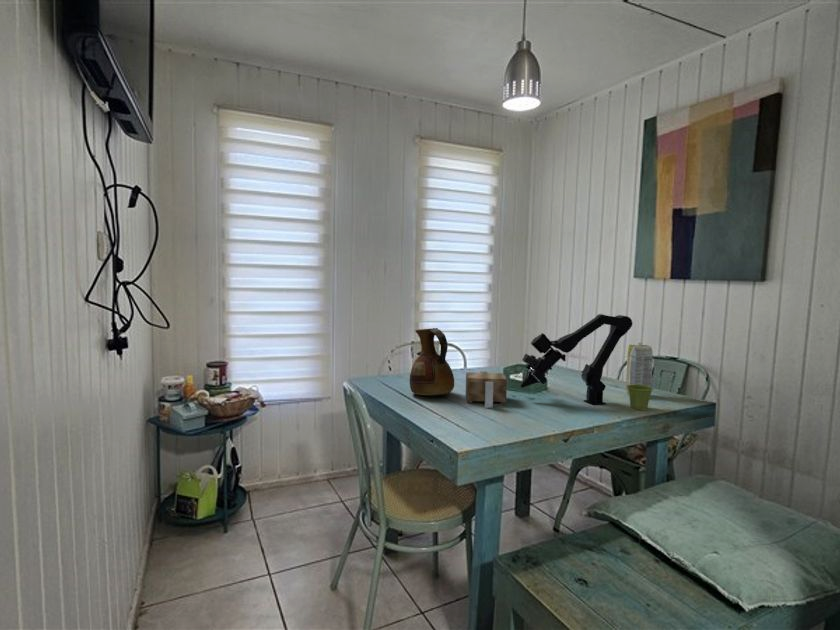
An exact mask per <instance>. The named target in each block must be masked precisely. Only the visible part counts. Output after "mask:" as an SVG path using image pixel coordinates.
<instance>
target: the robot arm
mask: <svg viewBox="0 0 840 630" xmlns="http://www.w3.org/2000/svg"><path fill="white" fill-rule="evenodd" d="M633 323H634V322H633V320H632V319H631V317H629V316H627V315H622V314H618V315H615V316H612V315H606V314H603V313H598V314H597V315H596V316H595V317H594V318H592V319H591V320H589V321H587V322H586V323H585V324H583V325H581V327H579V328H578V329H577V330H575V331H574V332H572V333H568V334H566V335H564V336H561V337H559V338H558V339H557V340H550V338H548V337H547V336H546V334H545V333H540V334H539V335H537V336H536V337H534V338H533V339H532V341H531V342H530V345H532V347H534V349H535V350H536V351H537V352H538V353H539V354H544V355H542V357H538V358H536V357H537V356H536V355H533V354H531V355H529V354H528V353H524V355H523V358H522V359H521V360H522V362H524V363H525V365H524V367H525V368H526V375H525V377H524V379H523V380H522V382H521V383H520V385H519V387H520V388H523V389H524V388H526V387H529V386H531V385H533V384H537V383H541V384H542V385H544V384H545V383H547V380H548V378H547V376H545V374H546V373H547V372H549V370H550V371H552V369H553V367H554V366H555V365H556V363H558V362H559V361H560V360H562V361H563V362H566V361H567V360H566V357H567V355H566V354H567V353H570V352H572V350H574V349H575V348H576V347H577V346H578V345H579V343H580V342H581V341H582V340H583V339H585V338H586V337H588V336H589V335H591V334H592V333H593V332H595V331H597V330H598V329H600V328H601V327H602V326H604V325H609V326H610V327H609V328H610V329H609V333H608V335H607V337H606V339H605V340H604V342H603V344H602V346H601V347H600V349H599V351H598V352H597V355H596V357H595V358H594V359H593V361H592V362H591V363H590V364H587V363H586V364H585V365H584V367H583V369H582V370H581V380H582V381H583V382H584V383H585V386H586V399H583V402H585V403H587V404H590V405H593V406H596V405H606V404H607V403H606V402H605V401H603V400H604V399H603V398H604V397H603V396H604V391H605V390H606V385H605V384H604V382H603V381H602V380H601V379H602V377H603V371H604V367H605V365H606V364H607V362H608V360H609V359H610V356H611V355H612V353H613V352H614V351H615V350H614V349H615V348H616V346H617V345H618V343H619V341H620V339H621V338H623V336H625V335H626V334H627V333H628V332H629V330H630V329H631V328H632V327H633ZM554 348H555V349H554ZM562 352H563V354H562ZM565 353H566V354H565Z"/></svg>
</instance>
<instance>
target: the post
mask: <svg viewBox="0 0 840 630" xmlns="http://www.w3.org/2000/svg"><path fill="white" fill-rule="evenodd" d="M493 406H494V402H493V382H485V401H484V408H485V409H493V408H494V407H493Z"/></svg>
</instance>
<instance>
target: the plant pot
mask: <svg viewBox="0 0 840 630" xmlns="http://www.w3.org/2000/svg"><path fill="white" fill-rule="evenodd" d="M627 387H628V390H629V394H630V396H629V402H630V403H629V404H630V405H629V406H630V408H631V409H634V410H640V411H647V410H648V407H649V403H650V398H651V397H650V396H651V394H652V391H653V390H654V388H653V387H652V386H651V387H649V386H644V385H628V386H627Z"/></svg>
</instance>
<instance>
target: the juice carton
mask: <svg viewBox="0 0 840 630" xmlns="http://www.w3.org/2000/svg"><path fill="white" fill-rule="evenodd" d="M653 356H654V353H653V348H652V346H650V345H647V344H643V342H635V344H628V347H627V355H626V374H625V375H626V378H625V380H626V381H625V390H626V394H627V396H629V397H630V394H629V390H628V387H627V386H628V385H644V386H649V387H652V377H653V376H652V373H653Z"/></svg>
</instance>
